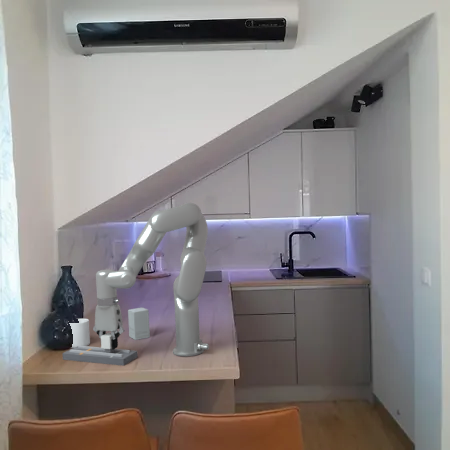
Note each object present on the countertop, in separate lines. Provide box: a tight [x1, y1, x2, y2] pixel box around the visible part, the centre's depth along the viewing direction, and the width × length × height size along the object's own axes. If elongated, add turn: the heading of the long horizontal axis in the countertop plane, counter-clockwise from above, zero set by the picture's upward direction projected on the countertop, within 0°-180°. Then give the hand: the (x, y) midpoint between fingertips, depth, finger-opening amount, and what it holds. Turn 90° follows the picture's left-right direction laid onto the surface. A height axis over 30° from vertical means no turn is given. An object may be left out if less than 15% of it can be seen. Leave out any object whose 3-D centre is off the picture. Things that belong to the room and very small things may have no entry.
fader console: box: [62, 345, 138, 366], centre depth 188 cm, size 28×10×3 cm, turn 69°
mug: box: [69, 318, 91, 349], centre depth 206 cm, size 9×12×11 cm
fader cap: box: [100, 332, 116, 353], centre depth 186 cm, size 4×5×7 cm
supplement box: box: [127, 307, 151, 341], centre depth 216 cm, size 7×7×13 cm
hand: (109, 347), depth 186 cm, fingers closed on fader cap, 4 cm apart
